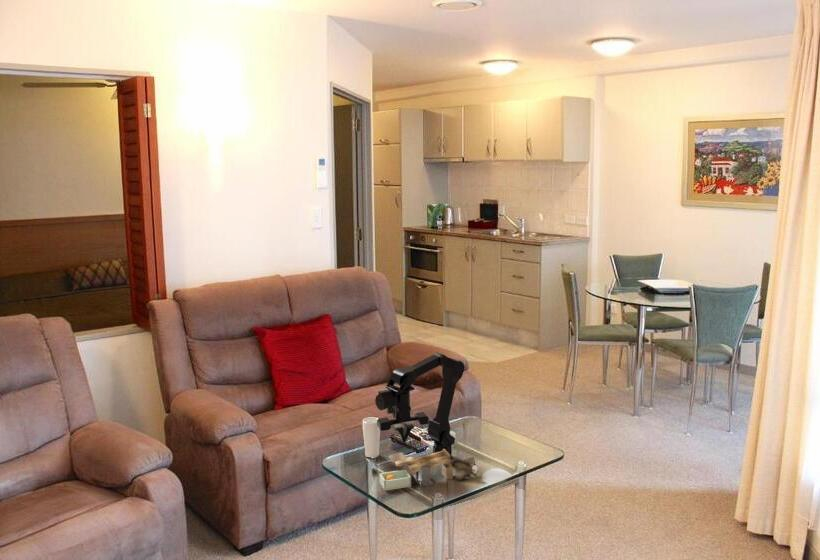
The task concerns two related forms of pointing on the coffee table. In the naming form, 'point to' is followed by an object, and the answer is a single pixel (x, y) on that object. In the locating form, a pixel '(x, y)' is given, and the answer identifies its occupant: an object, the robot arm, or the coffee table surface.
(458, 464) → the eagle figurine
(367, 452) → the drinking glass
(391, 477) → the ball
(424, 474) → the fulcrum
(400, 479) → the mint cubby shelf
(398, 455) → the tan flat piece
